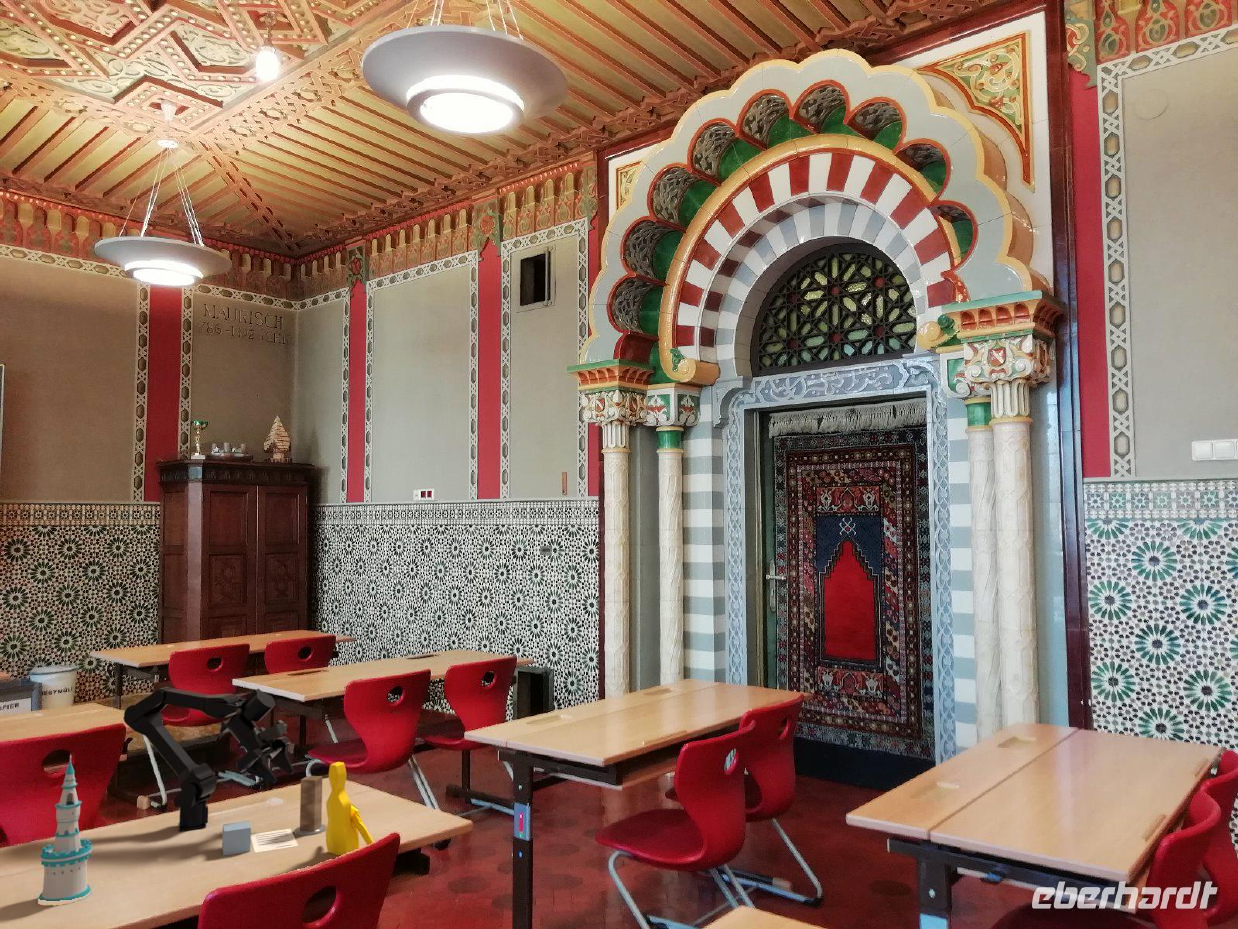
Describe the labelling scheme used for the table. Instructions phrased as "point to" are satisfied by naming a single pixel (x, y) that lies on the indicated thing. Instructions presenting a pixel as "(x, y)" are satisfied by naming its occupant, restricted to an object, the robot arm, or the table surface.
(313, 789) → the walnut block
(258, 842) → the letter
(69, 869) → the model tower
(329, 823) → the figure statuette
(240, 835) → the grey cube
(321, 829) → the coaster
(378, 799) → the table surface
